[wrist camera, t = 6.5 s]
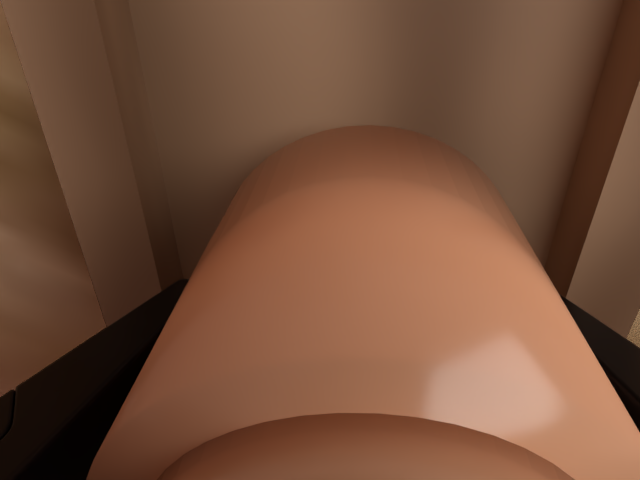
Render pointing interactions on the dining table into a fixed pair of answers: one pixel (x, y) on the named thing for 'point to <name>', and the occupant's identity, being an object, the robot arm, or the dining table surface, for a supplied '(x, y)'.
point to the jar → (370, 335)
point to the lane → (337, 118)
